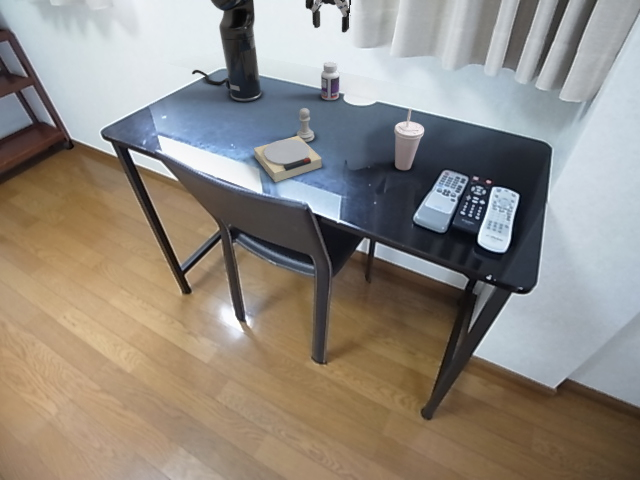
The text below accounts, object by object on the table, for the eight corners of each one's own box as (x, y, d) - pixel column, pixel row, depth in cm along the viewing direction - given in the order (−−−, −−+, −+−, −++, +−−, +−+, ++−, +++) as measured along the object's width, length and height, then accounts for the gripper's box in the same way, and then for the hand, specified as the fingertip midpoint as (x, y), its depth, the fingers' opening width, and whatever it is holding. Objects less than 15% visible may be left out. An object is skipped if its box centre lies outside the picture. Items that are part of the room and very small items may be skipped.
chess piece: (294, 135, 98) (292, 105, 93) (311, 132, 99) (310, 103, 94) (299, 143, 95) (297, 114, 90) (316, 140, 96) (316, 111, 91)
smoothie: (393, 156, 91) (401, 100, 81) (419, 161, 89) (431, 105, 79) (386, 170, 87) (394, 113, 77) (413, 176, 85) (425, 118, 75)
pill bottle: (339, 93, 116) (340, 61, 110) (338, 101, 113) (339, 67, 106) (322, 93, 117) (322, 60, 110) (320, 100, 113) (320, 67, 106)
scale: (254, 157, 91) (253, 144, 89) (298, 144, 95) (297, 132, 93) (275, 183, 83) (274, 170, 81) (322, 167, 88) (322, 155, 85)
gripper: (298, -45, 90) (301, 29, 102) (350, -41, 85) (347, 37, 97) (313, -49, 95) (315, 22, 106) (364, -46, 90) (360, 29, 101)
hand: (330, 29), depth 101 cm, fingers open, 8 cm apart
